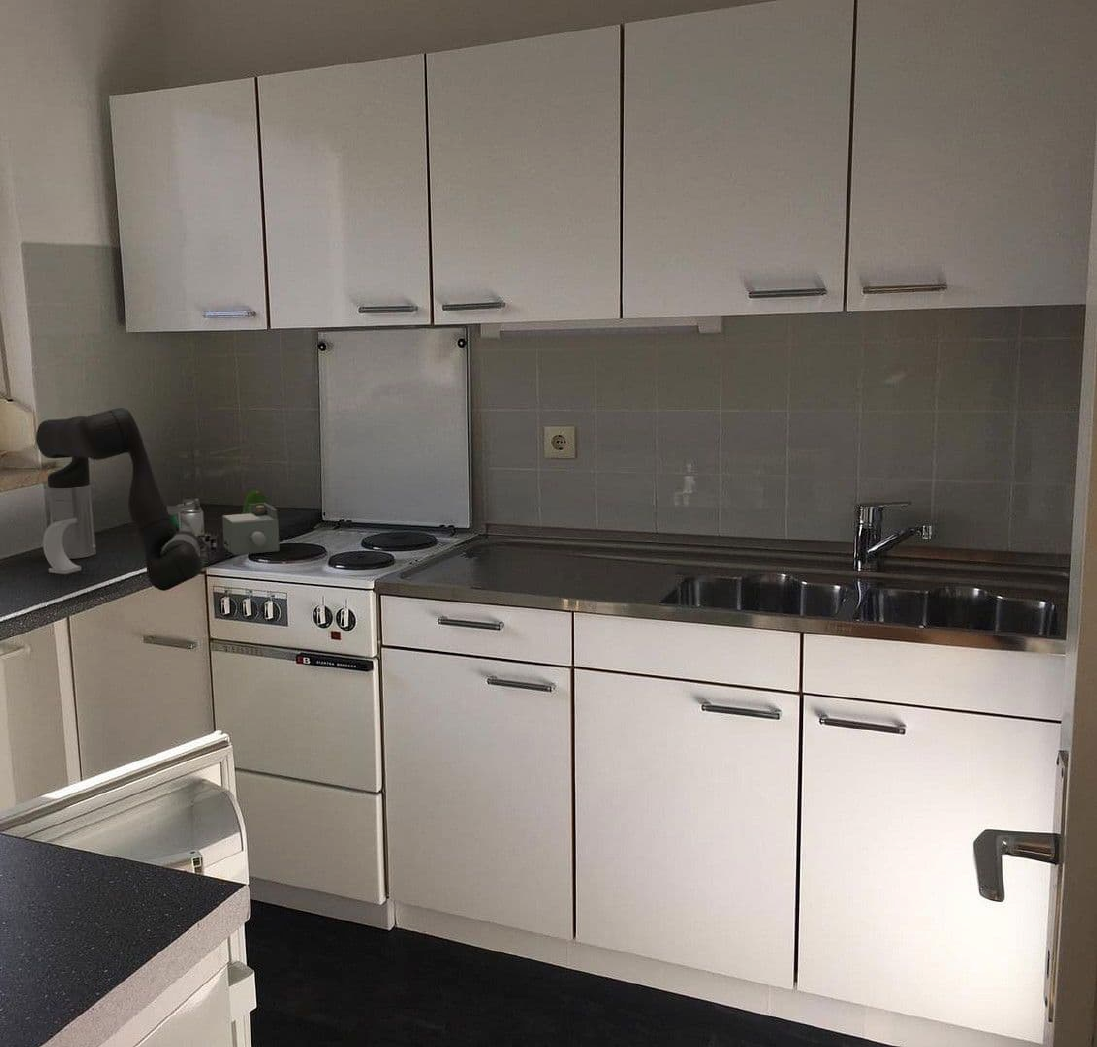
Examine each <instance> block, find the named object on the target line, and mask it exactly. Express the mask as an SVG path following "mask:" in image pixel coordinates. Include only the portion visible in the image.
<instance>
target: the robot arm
mask: <svg viewBox="0 0 1097 1047" xmlns="http://www.w3.org/2000/svg"><path fill="white" fill-rule="evenodd" d="M35 440H36V445H37V448H38V450H39V452H40V453H41V454H42V455H43V456H44V457H45V458H48V459H62V458H63V459H64V458H71V461H70V462H69V464H67V465H66V466H65V467H63V468H61V469H59V470H57V471H53V472H51V473H50V474H49V475H48V476H47V487H48V498H49V509H50V510H49V512H50V517H49V519H50V525H51V524H52V523H54V522H58V521H63V520H68V519H73V518H77V522H74V523H70V524H69V525H67V526H66V528H65V529H64V532H63V535H62V545H63V549H64V552H65V554H66V556H67V557H68V559H69V560H71V559H72V560H73V559H82V558H88V557H92V556H95V555H96V541H95V540H96V539H95V529H94V528H95V526H94V518H93V517H94V516H93V502H92V492H91V491H92V490H91V481H90V479H91V476H90V465H89V464H90V462H89V461H90V459H91V460H95V461H97V460H100V461H101V460H106V459H109V458H112V457H116V456H120V455H123V454H126V453H128V454H129V457H130V459H131V464H132V466H131V467H132V474H131V475H132V476H131V483H130V486H129V487H130V488H129V491H128V492H129V493H128V500H127V504H128V505H127V507H128V513H129V516H130V519H131V521H132V523H133V525H134V528H135V529H136V531H137V534H138V536H139V538H140V540H141V543H142V547H143V553H144V557H145V558H144V559H145V565H146V574H147V578H148V579H149V582H150V584H151V585H152V586H153V587H154V588H156V589H157V590H159V591H165V592H166V591H168V590H171V589H174V588H175V587H177V586H179V585H181V584H183V583H186V582H187V581H190V580H192V579H193V578H196V577H197V576H198V575H200V573H202V569H203V564H202V560H201V558H200V553H201V550H204V549H205V550H206V548H209V550H211V551H217V549H218V548H219V547H220V535H219V534H213V535H212V534H211V533H210V532H209V531H208V532H205V535H200V534H199V535H194V534H193V533H190V532H187V531H180V532H176V528H175V526H174V523H173V521H172V519H171V517H170V515H169V513H168V511H167V506H166V505H165V503H164V501H163V498H162V496H161V493H160V491H159V488H158V485H157V482H156V479H155V475H154V472H153V468H152V466H151V462H150V459H149V456H148V453H147V449H146V447H145V444H144V441H143V438H142V435H141V433H140V429H139V428H138V425H137V423H136V420H135V419H134V417H133V415H132V414H131V413H130V411H128V410H127V409H126V408H123V407H120V408H119V407H118V408H114V409H111V410H107V411H104V412H100V413H95V414H91V415H88V416H87V415H86V416H85V415H78V416H72V417H69V418H68V417H67V418H57V419H56V418H54V419H46V420H43V421H42V422H40V424H39V425H38V427H37V429H36V436H35Z"/></svg>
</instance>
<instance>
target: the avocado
mask: <svg viewBox="0 0 1097 1047" xmlns="http://www.w3.org/2000/svg"><path fill="white" fill-rule="evenodd" d="M259 503H266V504H268V505H270V506H271V504H270V503H269V500H268V499H267V497H266V495H265V494H263V493H262V492H261V491H260V490H257V489H256V490H251V491H250V492H249V493H248V494H247V495H246V498H245V502H244V506H243V509H242V513H241V514H248V513H249V504H259Z"/></svg>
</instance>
